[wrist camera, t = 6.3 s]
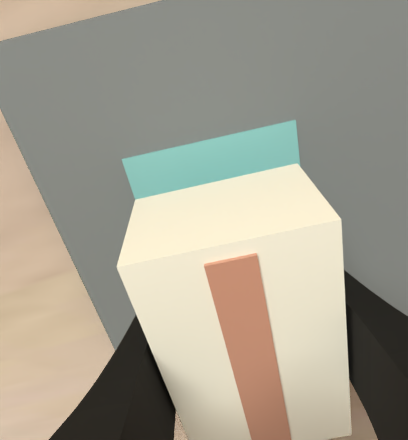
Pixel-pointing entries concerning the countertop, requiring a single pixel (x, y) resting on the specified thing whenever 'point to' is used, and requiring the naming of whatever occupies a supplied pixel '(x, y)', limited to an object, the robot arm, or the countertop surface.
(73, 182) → the mat
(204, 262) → the card box
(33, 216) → the countertop surface
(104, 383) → the robot arm
